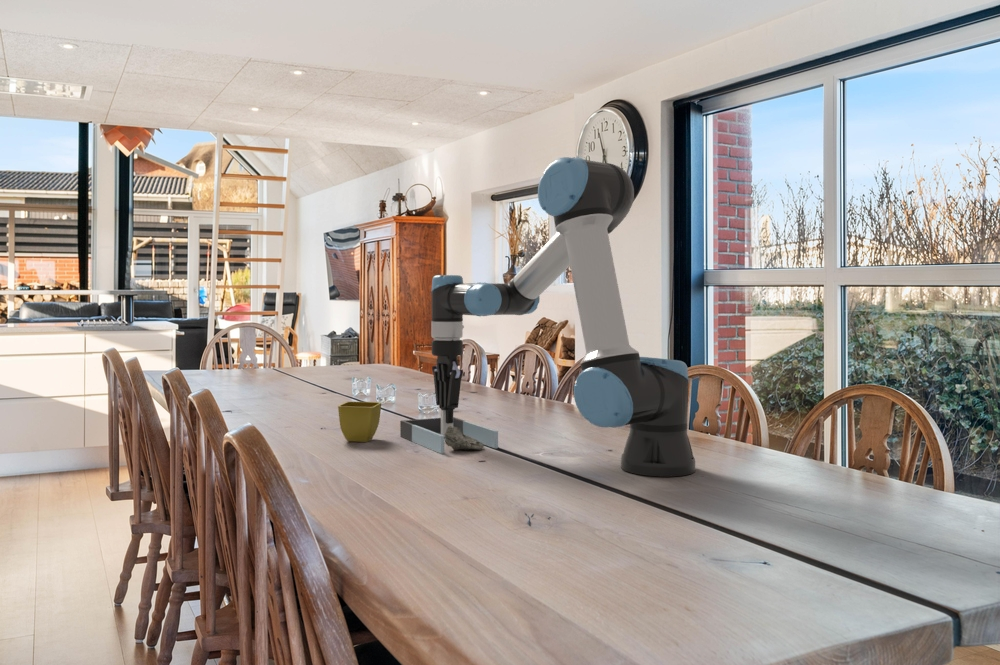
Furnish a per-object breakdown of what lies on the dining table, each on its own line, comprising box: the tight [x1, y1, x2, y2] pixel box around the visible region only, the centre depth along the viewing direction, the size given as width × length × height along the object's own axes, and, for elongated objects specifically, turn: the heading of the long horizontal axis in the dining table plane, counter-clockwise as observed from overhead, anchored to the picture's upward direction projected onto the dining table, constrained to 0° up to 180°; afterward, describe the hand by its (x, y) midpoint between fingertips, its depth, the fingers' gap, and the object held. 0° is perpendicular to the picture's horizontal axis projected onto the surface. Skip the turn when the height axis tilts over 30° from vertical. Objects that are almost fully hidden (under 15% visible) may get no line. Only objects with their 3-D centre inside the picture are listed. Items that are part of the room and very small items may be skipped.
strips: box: [411, 420, 499, 455], centre depth 196 cm, size 17×15×4 cm
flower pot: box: [337, 401, 383, 443], centre depth 201 cm, size 9×9×9 cm
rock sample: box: [444, 425, 485, 451], centre depth 191 cm, size 10×8×9 cm
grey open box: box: [399, 416, 466, 442], centre depth 207 cm, size 8×15×4 cm, turn 119°
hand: (447, 436), depth 200 cm, fingers closed
